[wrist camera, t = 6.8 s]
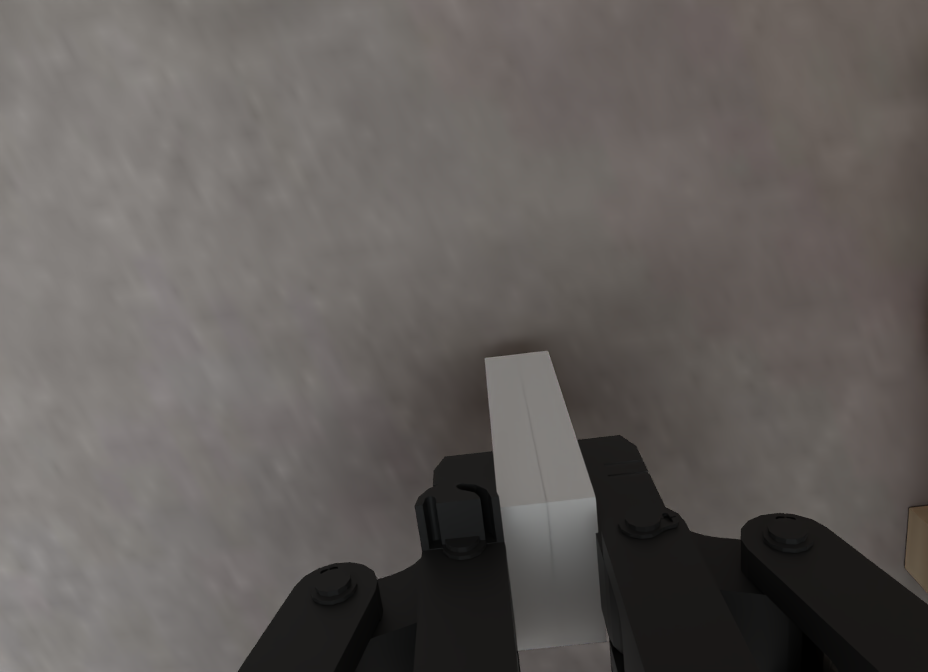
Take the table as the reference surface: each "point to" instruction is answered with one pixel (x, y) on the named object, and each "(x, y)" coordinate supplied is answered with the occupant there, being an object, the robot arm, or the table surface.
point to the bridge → (918, 545)
